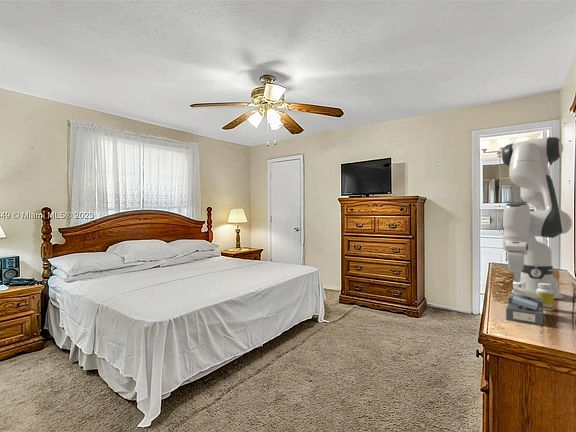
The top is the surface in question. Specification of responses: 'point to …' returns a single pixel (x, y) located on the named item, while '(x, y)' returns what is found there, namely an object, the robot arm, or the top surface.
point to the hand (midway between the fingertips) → (517, 281)
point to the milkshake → (519, 285)
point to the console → (525, 311)
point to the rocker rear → (526, 292)
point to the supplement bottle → (546, 295)
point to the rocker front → (524, 302)
